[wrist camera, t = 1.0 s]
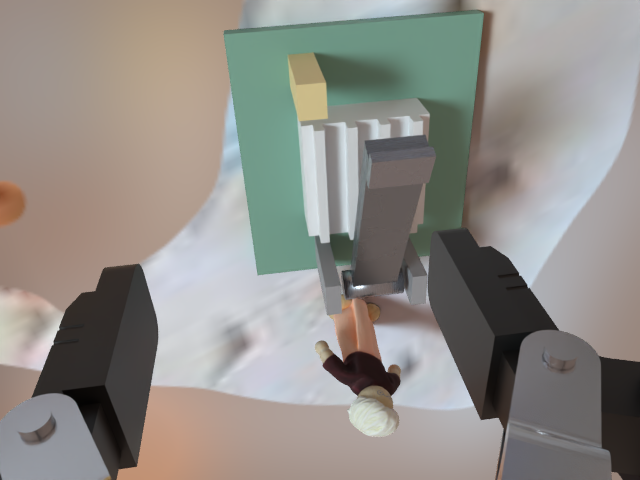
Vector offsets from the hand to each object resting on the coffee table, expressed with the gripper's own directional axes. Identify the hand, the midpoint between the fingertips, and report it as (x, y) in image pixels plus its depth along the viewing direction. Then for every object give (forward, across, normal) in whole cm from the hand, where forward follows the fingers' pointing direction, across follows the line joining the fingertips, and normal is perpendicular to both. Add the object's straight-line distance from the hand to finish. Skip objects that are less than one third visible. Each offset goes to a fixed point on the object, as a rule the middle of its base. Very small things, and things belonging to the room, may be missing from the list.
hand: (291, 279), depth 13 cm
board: (+26, -6, +9) cm, 28 cm away
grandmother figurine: (+26, -5, +24) cm, 35 cm away
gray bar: (+18, -6, +10) cm, 21 cm away
